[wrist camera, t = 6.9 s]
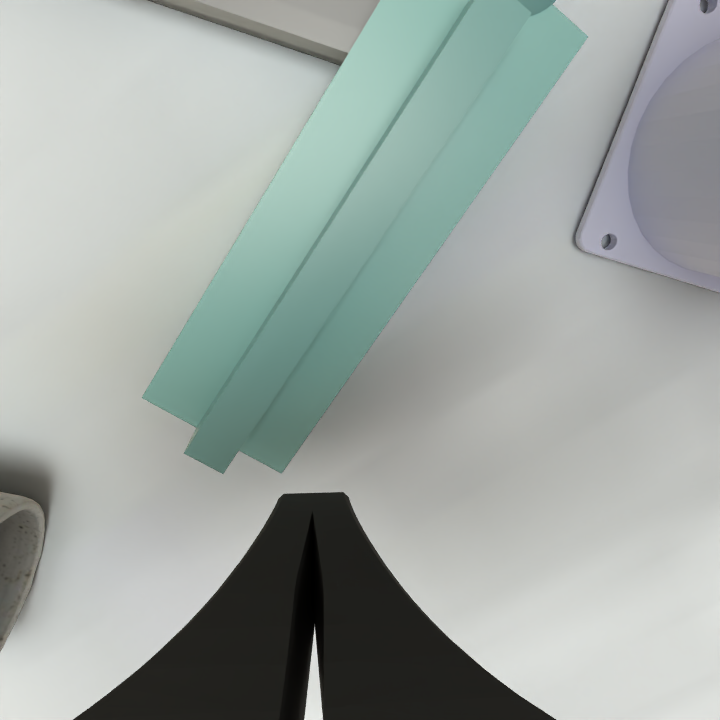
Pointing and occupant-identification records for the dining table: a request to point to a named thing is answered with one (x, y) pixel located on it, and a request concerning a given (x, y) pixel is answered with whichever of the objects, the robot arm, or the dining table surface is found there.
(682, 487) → the dining table surface
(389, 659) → the robot arm
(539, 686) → the dining table surface
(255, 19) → the grey open box
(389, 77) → the cover
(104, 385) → the dining table surface
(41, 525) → the ceramic mug
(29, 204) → the dining table surface
